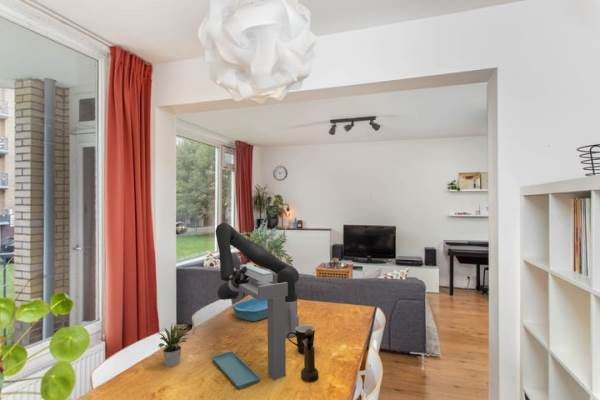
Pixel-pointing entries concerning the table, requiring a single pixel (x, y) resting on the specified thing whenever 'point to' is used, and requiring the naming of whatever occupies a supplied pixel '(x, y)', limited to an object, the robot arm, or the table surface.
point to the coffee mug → (302, 337)
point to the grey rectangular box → (258, 273)
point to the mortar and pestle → (309, 360)
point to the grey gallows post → (272, 322)
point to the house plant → (172, 346)
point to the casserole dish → (251, 309)
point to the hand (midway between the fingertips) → (250, 267)
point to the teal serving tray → (236, 369)
